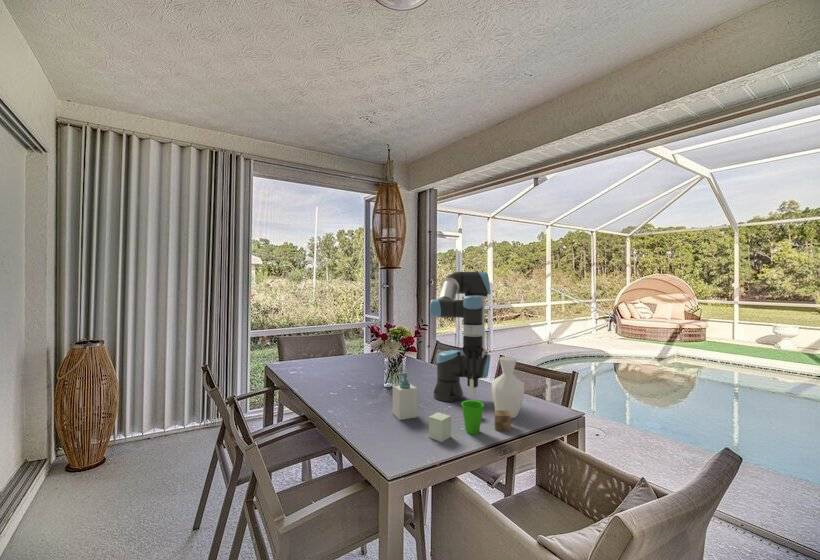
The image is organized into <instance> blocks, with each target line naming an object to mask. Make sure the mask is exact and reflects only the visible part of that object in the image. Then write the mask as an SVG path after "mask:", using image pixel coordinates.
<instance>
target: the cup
mask: <svg viewBox="0 0 820 560" xmlns="http://www.w3.org/2000/svg"><path fill="white" fill-rule="evenodd" d="M460 405H461V406H462V413H463V414H462V415H463V419H464V420H463V421H464V426H465V431H466V433H467V434H469V435H478V434H479V432H480V429H481V423H482V418H483V417H482V416H483V411H484V407H485V403H483V402H482V401H479V400H474V399H473V400H471V399H470V400H469V399H468V400H464V401H462V402H461V403H460Z"/></svg>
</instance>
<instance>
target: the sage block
mask: <svg viewBox="0 0 820 560" xmlns="http://www.w3.org/2000/svg"><path fill="white" fill-rule="evenodd" d="M451 437H452V415H448V414H445V413H442V412H435V413H434V414H432V415H429V416H428V438H429V439H432V440H435V441H438V442H440V443H443V442H444V441H446V440H448V439H449V438H451Z"/></svg>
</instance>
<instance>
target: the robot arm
mask: <svg viewBox="0 0 820 560" xmlns="http://www.w3.org/2000/svg"><path fill="white" fill-rule="evenodd" d="M457 294H458V295H459V294H462V295H464V297H463V299H455V298H456V296H457ZM490 294H491V284H490V279H489V274H488V273H487V272H486V271H455V272H453V273H450V274H448V275H446V276H445V277H444V278H443V279H442V280H441V283H440V291H439V294H438V297H437V298H436V299H431V300H430V303H429V314H430V316H431V317H434V318H463V324H462V325H463V326H462V327H463V330H462V331H463V332H462V333H463V336H462V337H463V338H462V339H463V340H462V344H463V346H462V348H461V350H459V349H458V350H456V349H450V350H445V351H441V352H439V353H438V354H437V357H436V358H437V359H436V372H437V373H436V384H435V387H434V389H433V398H434V399H436V400H438V401H440V402H441V401H442V402H458V401H461V400H463V399H464V392H463V388H462V385H461V378H467V379H466V380H467V384H466V385H467V387H469V396H470V397H474V396H476V394H477V392H476V391H477V389H476V388H478V387H479V379H486V378H488V376H489V372H490V365H491V364H490V363H491V355H490V354H489V353H488V350H487V349H486V348H485V347H486V346H485V338H486V337H485V329H486V328H485V321H486V320H485V317H486V316H485V315H486V314H485V313H486V311H485V308H486V305H485V304H486V303H485V302H486V300H487V299H488V298H489V297H488V296H489V295H490Z"/></svg>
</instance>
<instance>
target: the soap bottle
mask: <svg viewBox="0 0 820 560" xmlns="http://www.w3.org/2000/svg"><path fill="white" fill-rule="evenodd" d="M408 374H410V371H405V372H397V373H395V376H402V377H403V379H402V380H401V382H400V383H399V384H398V383H397V384H393V385H392V414H393V415H394V417H396V418H397V419H398V420H399V421H403V420H408V419H414V418H418V416H419V415H418V413H419V412H418V410H419V408H418V407H419V405H418V404H419V403H418V401H419V400H418V398H419V397H418V396H419V395H418V392H419V391H418V390H419V388H418V387H417V386H415V385H414V384H412V383H411V382H409V380H408V379H407V378H408Z"/></svg>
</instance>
